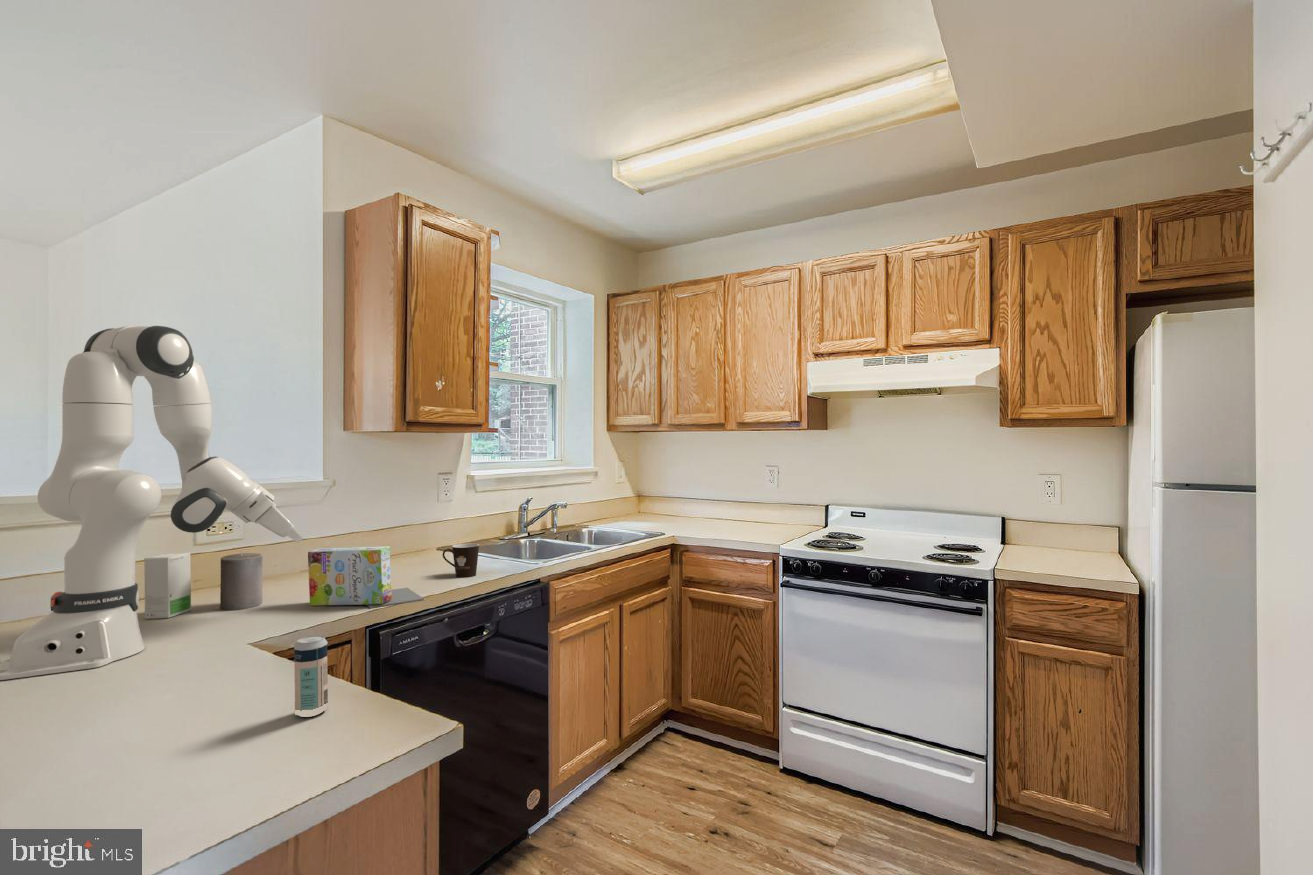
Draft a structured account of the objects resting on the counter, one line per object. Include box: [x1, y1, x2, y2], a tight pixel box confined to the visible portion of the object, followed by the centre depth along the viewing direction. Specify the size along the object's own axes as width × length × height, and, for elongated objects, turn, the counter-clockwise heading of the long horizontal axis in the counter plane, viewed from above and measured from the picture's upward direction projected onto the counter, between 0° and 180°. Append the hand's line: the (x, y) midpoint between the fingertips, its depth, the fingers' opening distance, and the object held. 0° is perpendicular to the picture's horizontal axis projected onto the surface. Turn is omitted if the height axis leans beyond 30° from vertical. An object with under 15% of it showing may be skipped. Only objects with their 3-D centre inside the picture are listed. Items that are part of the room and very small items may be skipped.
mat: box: [366, 587, 425, 609], centre depth 174 cm, size 14×17×1 cm
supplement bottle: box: [293, 634, 329, 711], centre depth 99 cm, size 5×5×12 cm
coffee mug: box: [442, 542, 480, 579], centre depth 204 cm, size 12×9×10 cm
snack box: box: [307, 545, 392, 607], centre depth 168 cm, size 21×6×15 cm, turn 84°
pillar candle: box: [219, 550, 263, 611], centre depth 168 cm, size 10×10×15 cm
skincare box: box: [143, 552, 192, 620], centre depth 160 cm, size 8×7×16 cm
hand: (300, 539), depth 161 cm, fingers closed
